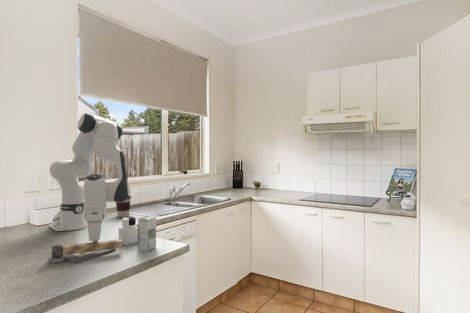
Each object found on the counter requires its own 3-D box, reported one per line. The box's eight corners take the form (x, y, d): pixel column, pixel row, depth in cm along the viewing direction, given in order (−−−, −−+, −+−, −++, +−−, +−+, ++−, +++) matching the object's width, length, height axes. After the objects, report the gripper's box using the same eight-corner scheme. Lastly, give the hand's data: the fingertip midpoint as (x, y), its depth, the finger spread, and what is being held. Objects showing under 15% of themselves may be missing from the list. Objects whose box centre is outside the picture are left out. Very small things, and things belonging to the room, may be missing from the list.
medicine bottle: (131, 239, 147) (131, 215, 146) (139, 241, 142) (139, 217, 142) (118, 242, 141) (118, 217, 141) (126, 245, 137) (126, 219, 136)
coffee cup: (126, 218, 191) (126, 195, 191) (112, 217, 193) (112, 194, 193) (133, 214, 201) (133, 193, 201) (120, 214, 203) (120, 192, 202)
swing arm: (50, 258, 115) (50, 248, 115) (52, 254, 119) (52, 245, 118) (121, 249, 125) (121, 240, 125) (121, 246, 129) (121, 237, 129)
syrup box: (145, 246, 136) (145, 215, 135) (156, 247, 133) (156, 216, 133) (137, 250, 130) (137, 217, 130) (148, 252, 128) (148, 218, 128)
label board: (40, 259, 119) (40, 255, 119) (94, 244, 138) (94, 241, 138) (61, 268, 110) (61, 264, 110) (115, 250, 130) (115, 247, 130)
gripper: (88, 209, 133) (88, 239, 134) (85, 219, 115) (85, 254, 115) (103, 208, 136) (103, 237, 136) (103, 217, 117) (103, 251, 117)
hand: (95, 245), depth 125 cm, fingers closed
